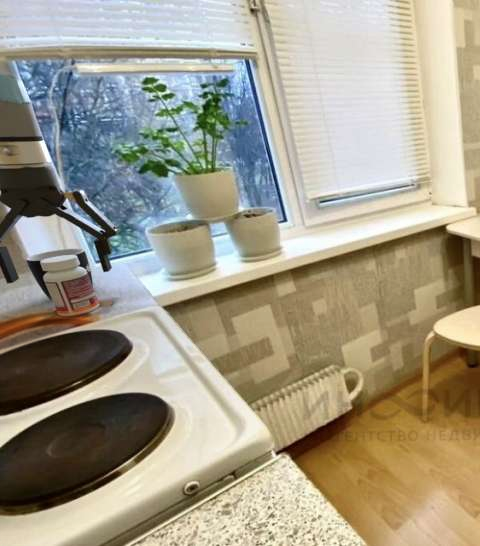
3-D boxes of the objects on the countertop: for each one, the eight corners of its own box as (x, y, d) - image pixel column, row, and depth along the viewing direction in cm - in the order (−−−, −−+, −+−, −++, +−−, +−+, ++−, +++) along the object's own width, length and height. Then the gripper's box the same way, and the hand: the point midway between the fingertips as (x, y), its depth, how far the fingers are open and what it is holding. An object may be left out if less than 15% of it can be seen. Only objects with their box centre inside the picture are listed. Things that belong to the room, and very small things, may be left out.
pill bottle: (106, 302, 90) (87, 252, 86) (90, 314, 84) (70, 261, 80) (69, 307, 88) (48, 255, 84) (51, 319, 82) (28, 265, 78)
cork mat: (42, 326, 81) (41, 323, 81) (57, 311, 87) (56, 308, 87) (103, 315, 85) (102, 313, 85) (114, 302, 92) (113, 299, 91)
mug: (104, 295, 95) (88, 252, 92) (47, 308, 89) (28, 263, 85) (91, 284, 102) (77, 244, 99) (38, 295, 95) (20, 253, 92)
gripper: (-99, 170, 67) (-43, 292, 74) (107, 165, 79) (139, 271, 86) (-70, 166, 73) (-21, 279, 80) (117, 162, 85) (146, 261, 92)
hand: (62, 275), depth 83 cm, fingers open, 13 cm apart
